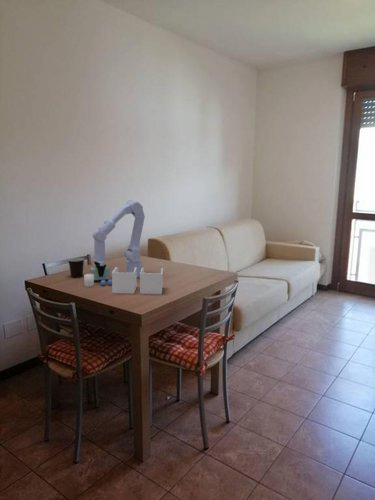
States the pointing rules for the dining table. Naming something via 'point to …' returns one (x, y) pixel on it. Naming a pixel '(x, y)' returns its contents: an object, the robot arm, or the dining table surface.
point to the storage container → (128, 282)
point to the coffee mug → (76, 267)
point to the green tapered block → (96, 276)
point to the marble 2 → (110, 282)
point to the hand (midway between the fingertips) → (100, 275)
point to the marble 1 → (103, 282)
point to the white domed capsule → (88, 280)
